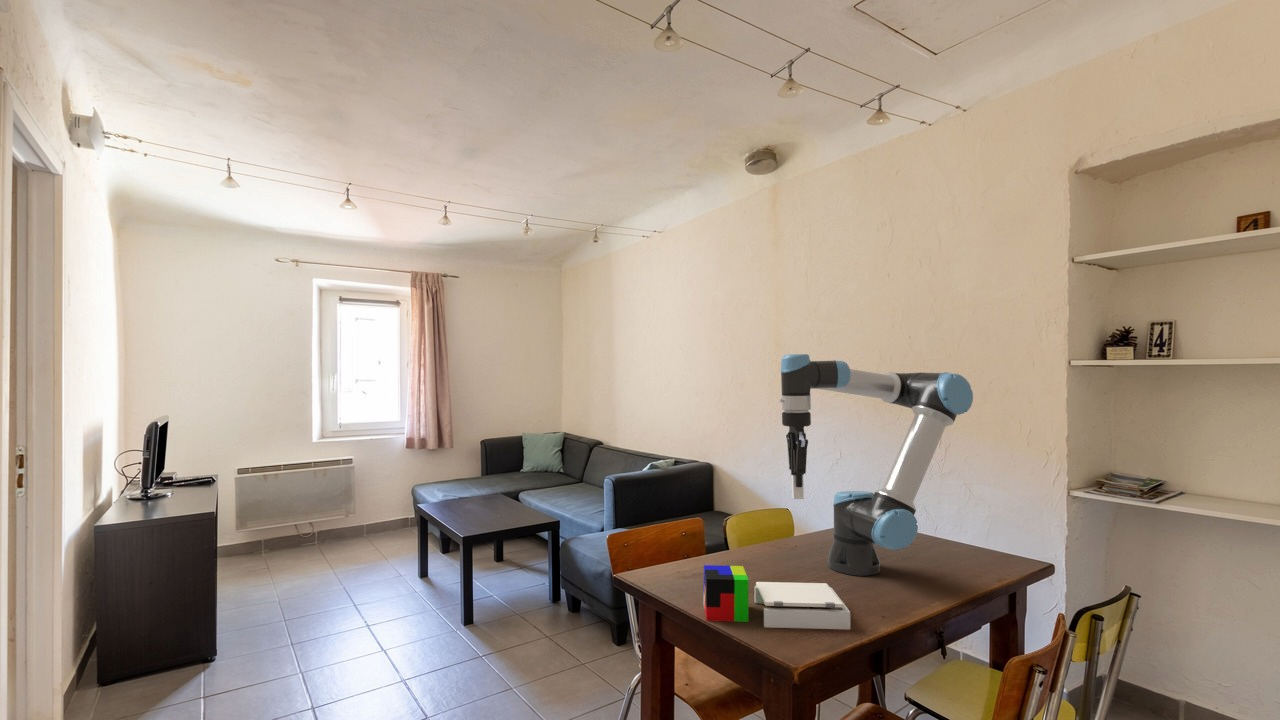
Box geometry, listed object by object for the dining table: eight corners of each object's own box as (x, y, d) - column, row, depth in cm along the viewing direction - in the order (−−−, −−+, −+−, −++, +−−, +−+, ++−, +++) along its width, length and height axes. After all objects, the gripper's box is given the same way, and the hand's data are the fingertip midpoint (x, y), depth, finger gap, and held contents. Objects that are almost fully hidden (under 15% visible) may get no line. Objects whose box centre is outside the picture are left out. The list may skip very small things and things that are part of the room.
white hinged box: (831, 603, 154) (831, 587, 154) (850, 629, 138) (850, 612, 138) (754, 601, 154) (754, 585, 155) (764, 627, 139) (764, 610, 139)
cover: (826, 586, 153) (826, 582, 153) (843, 608, 139) (843, 604, 139) (756, 584, 154) (756, 581, 154) (765, 606, 139) (765, 602, 139)
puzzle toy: (703, 604, 153) (703, 565, 153) (742, 605, 152) (742, 566, 152) (706, 620, 143) (706, 579, 143) (748, 621, 142) (748, 580, 142)
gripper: (776, 409, 167) (778, 493, 167) (788, 413, 154) (790, 504, 154) (803, 408, 167) (804, 492, 167) (817, 412, 154) (819, 503, 154)
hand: (797, 498), depth 161 cm, fingers closed
